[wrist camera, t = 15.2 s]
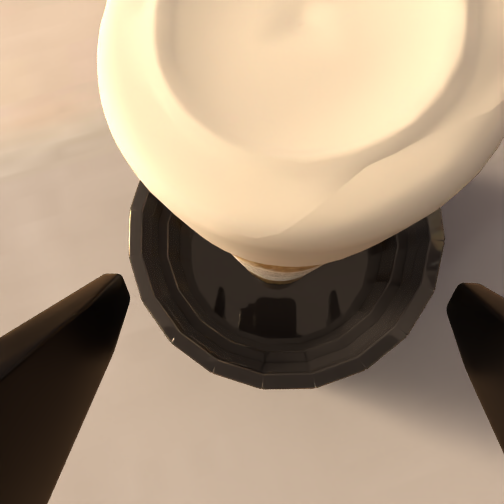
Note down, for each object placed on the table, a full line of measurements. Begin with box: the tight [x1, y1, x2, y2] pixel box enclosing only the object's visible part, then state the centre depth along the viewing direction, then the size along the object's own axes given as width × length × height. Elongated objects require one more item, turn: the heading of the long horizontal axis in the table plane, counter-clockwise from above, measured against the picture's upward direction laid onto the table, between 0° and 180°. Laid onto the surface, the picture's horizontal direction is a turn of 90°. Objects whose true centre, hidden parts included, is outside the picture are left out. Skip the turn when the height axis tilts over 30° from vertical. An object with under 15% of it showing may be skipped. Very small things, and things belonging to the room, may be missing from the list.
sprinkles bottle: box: [97, 0, 504, 284], centre depth 9 cm, size 5×5×14 cm
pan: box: [129, 180, 445, 389], centre depth 14 cm, size 13×13×4 cm
